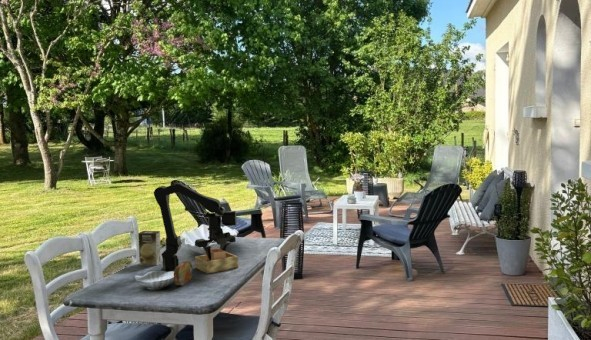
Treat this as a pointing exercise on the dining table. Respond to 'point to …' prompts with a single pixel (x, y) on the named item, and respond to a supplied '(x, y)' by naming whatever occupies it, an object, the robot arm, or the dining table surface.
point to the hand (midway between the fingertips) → (216, 258)
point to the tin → (183, 273)
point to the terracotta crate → (217, 254)
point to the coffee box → (149, 248)
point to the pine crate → (216, 263)
